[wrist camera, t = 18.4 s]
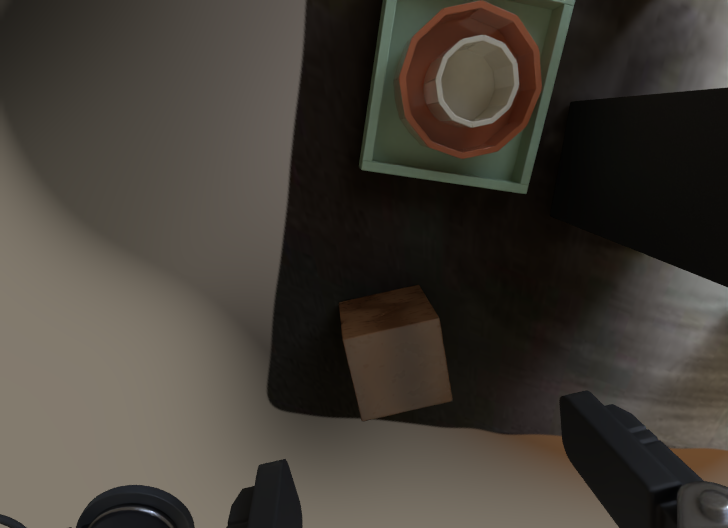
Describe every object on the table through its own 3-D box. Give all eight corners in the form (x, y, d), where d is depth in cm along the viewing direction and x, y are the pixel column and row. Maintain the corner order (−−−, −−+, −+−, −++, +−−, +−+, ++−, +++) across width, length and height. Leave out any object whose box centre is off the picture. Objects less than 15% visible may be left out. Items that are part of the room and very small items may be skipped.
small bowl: (429, 132, 38) (442, 134, 34) (417, 54, 36) (430, 45, 32) (499, 118, 38) (522, 117, 34) (491, 39, 37) (514, 27, 32)
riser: (355, 372, 46) (362, 422, 38) (338, 302, 44) (342, 339, 36) (431, 355, 46) (453, 401, 39) (419, 284, 44) (439, 317, 36)
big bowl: (405, 165, 40) (413, 169, 36) (382, 29, 36) (389, 19, 33) (526, 139, 40) (546, 141, 36) (515, 1, 36) (535, -12, 33)
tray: (513, 189, 42) (526, 194, 39) (358, 166, 40) (361, 169, 37) (558, 3, 38) (576, -6, 35) (387, -32, 36) (392, -45, 33)
